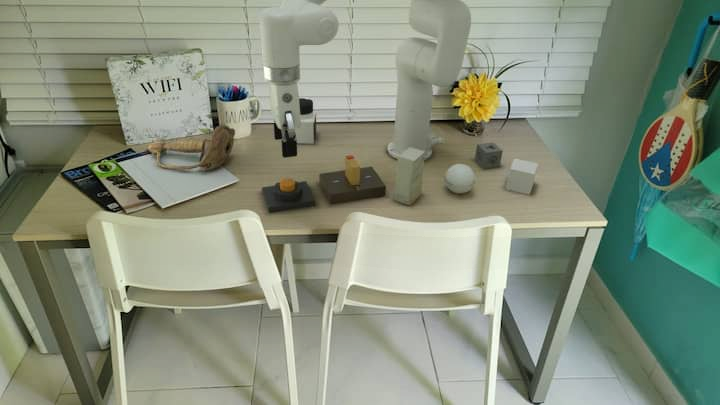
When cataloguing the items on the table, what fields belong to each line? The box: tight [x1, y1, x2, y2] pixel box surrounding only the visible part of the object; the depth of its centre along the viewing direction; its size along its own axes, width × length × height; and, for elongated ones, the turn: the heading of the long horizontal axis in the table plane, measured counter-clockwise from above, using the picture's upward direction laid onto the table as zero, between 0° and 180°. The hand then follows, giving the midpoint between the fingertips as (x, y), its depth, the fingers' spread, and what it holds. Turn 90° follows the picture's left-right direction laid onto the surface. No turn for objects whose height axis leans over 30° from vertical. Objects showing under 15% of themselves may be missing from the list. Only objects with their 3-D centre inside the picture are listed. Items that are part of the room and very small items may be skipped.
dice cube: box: [474, 141, 503, 170], centre depth 139 cm, size 5×5×5 cm
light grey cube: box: [505, 158, 539, 196], centre depth 130 cm, size 6×6×6 cm
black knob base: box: [261, 180, 316, 214], centre depth 122 cm, size 11×9×4 cm
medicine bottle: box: [294, 96, 317, 145], centre depth 147 cm, size 7×7×12 cm
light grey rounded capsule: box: [444, 163, 476, 194], centre depth 125 cm, size 10×7×7 cm
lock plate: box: [318, 166, 387, 205], centre depth 126 cm, size 14×10×3 cm
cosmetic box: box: [393, 147, 425, 206], centre depth 122 cm, size 6×4×12 cm
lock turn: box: [344, 155, 361, 186], centre depth 124 cm, size 6×2×5 cm, turn 19°
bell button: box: [279, 177, 296, 192], centre depth 120 cm, size 4×4×2 cm
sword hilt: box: [144, 124, 236, 172], centre depth 135 cm, size 10×24×15 cm
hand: (285, 147), depth 115 cm, fingers open, 8 cm apart
